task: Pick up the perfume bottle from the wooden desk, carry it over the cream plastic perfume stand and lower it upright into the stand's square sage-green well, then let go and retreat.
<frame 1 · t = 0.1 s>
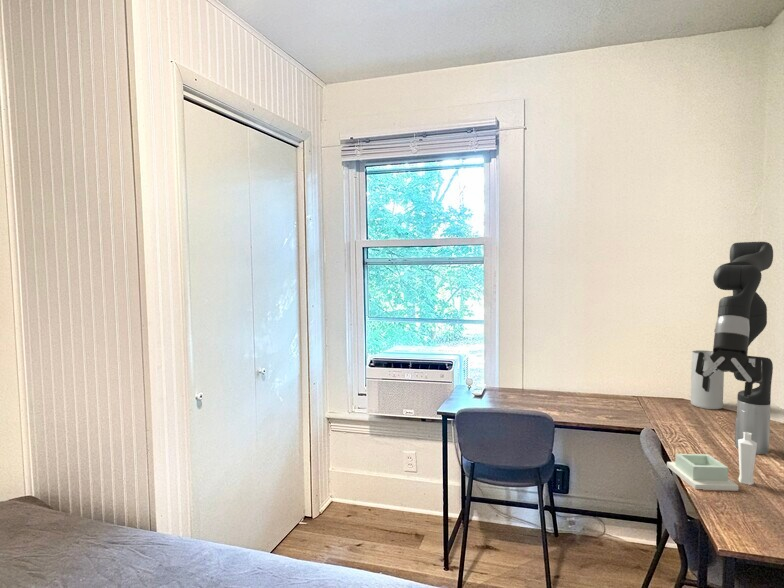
hand: (725, 394, 122), 31 cm above the table, tool tilted 20°, fingers open, 8 cm apart
perfume stand: (700, 477, 143), on the table
perfume bottle: (745, 482, 140), on the table
cylinder vase: (706, 406, 216), on the table
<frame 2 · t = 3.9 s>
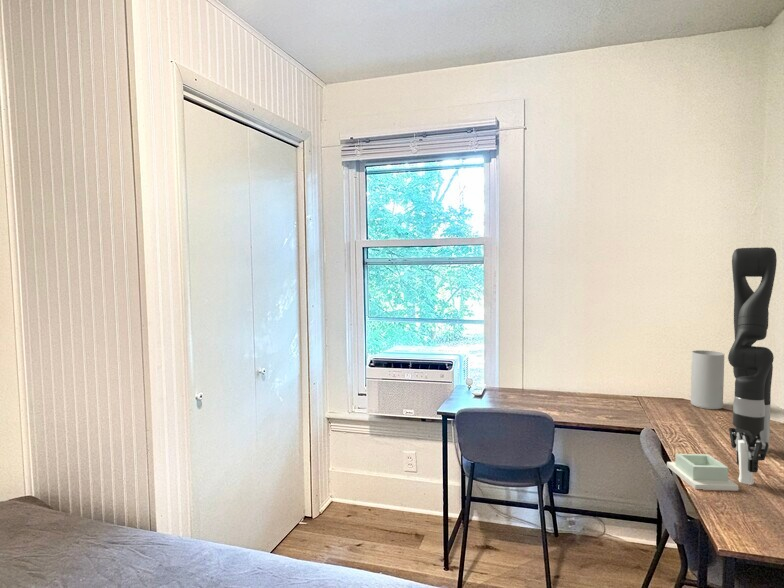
hand: (746, 467, 140), 4 cm above the table, tool pointing down, fingers closed on perfume bottle, 4 cm apart
perfume bottle: (745, 482, 140), on the table, touching gripper
everything else where it was.
when the fingers open (7 cm above the table, at t = 10.6 s): perfume bottle drops 1 cm, resting on perfume stand.
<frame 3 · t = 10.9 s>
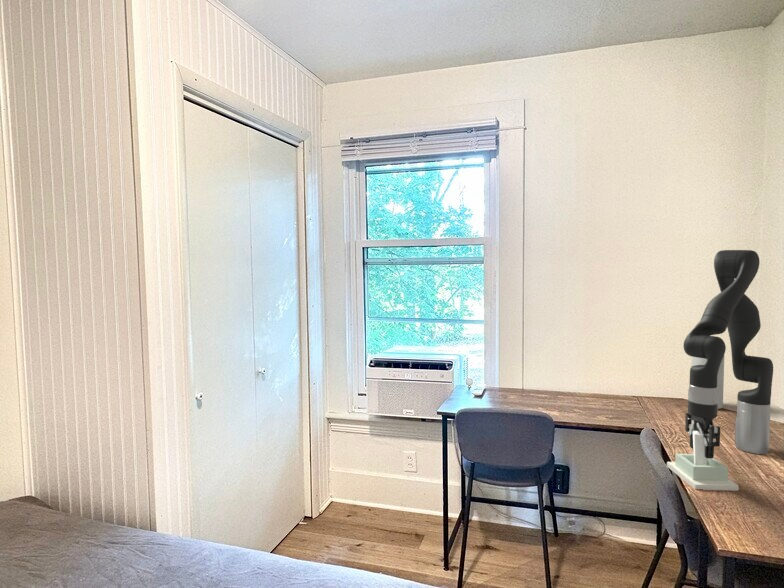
hand: (701, 452, 142), 8 cm above the table, tool pointing down, fingers open, 7 cm apart
perfume bottle: (699, 472, 143), point 1 cm above the table, touching perfume stand
everything else where it was.
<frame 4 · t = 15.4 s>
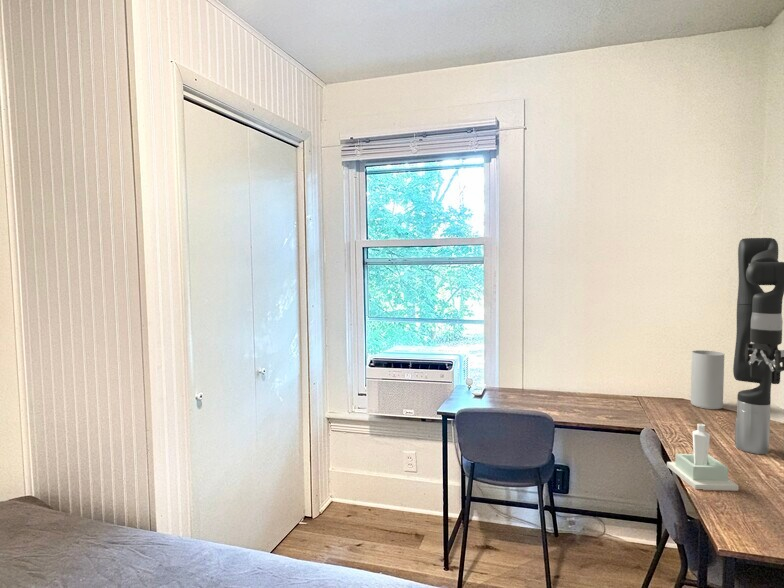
hand: (764, 380, 142), 30 cm above the table, tool pointing down, fingers open, 8 cm apart
nothing on the table moved.
at the end: perfume bottle 0.5 cm off-centre on the perfume stand, point 1.3 cm above the perfume stand's base; perfume bottle tilted 0°; the gripper is holding nothing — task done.
